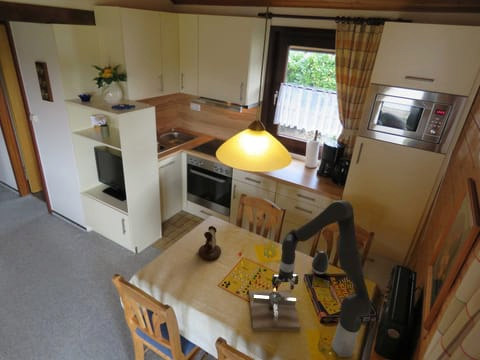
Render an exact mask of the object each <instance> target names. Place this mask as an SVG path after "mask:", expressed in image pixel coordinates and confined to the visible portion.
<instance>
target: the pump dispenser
mask: <svg viewBox="0 0 480 360" xmlns="http://www.w3.org/2000/svg"><path fill="white" fill-rule="evenodd" d="M314 251H315V253H316V254H315V255H314V257H313V259H312V262H311V269H312V270H313V272H314V273H316V274H317V275H323V274H324V275H325V274H326V273H327V271H328V269H329V264H330V263H329V256H328V254H327V252H325V250H321V251H318V249H314Z"/></svg>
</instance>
